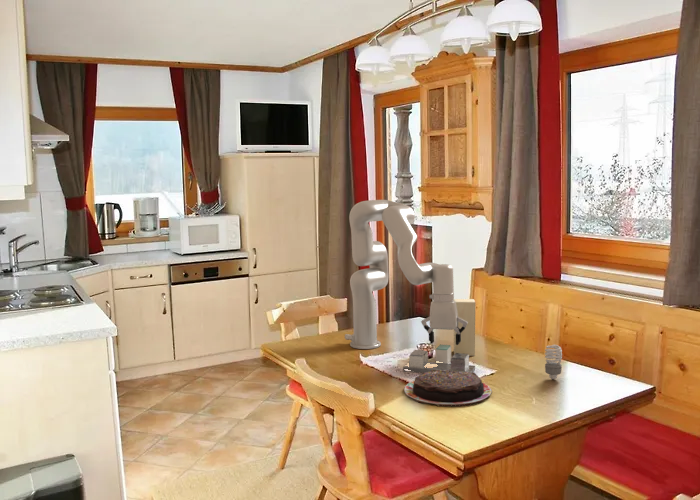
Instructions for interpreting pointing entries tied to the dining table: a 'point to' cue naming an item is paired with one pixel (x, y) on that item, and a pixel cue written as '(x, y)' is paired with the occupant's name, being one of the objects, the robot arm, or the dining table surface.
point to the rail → (421, 359)
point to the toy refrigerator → (468, 334)
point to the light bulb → (553, 361)
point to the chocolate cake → (448, 388)
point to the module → (443, 353)
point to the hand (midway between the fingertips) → (444, 343)
